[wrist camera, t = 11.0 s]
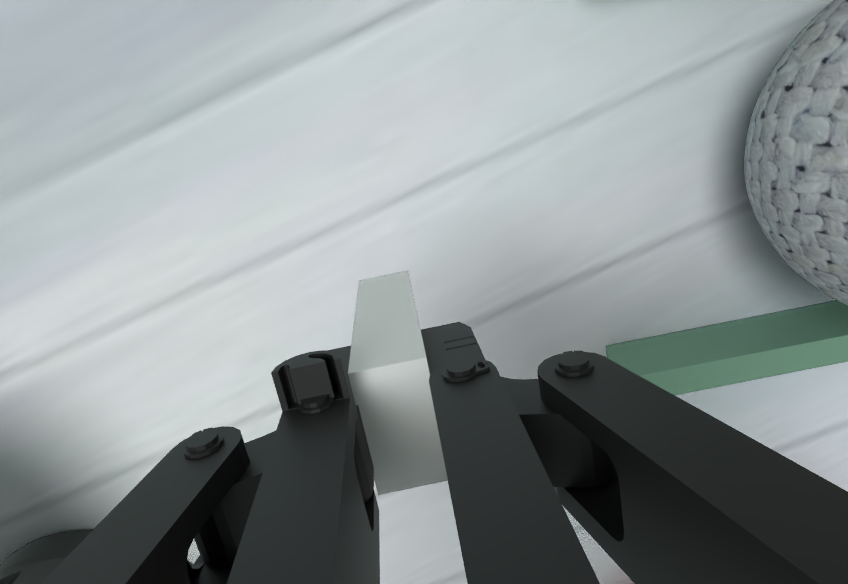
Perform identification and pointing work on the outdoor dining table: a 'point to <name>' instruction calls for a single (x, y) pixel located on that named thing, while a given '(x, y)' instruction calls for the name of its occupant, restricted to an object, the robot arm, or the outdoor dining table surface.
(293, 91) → the outdoor dining table surface
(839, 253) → the decorative ball
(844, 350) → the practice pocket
